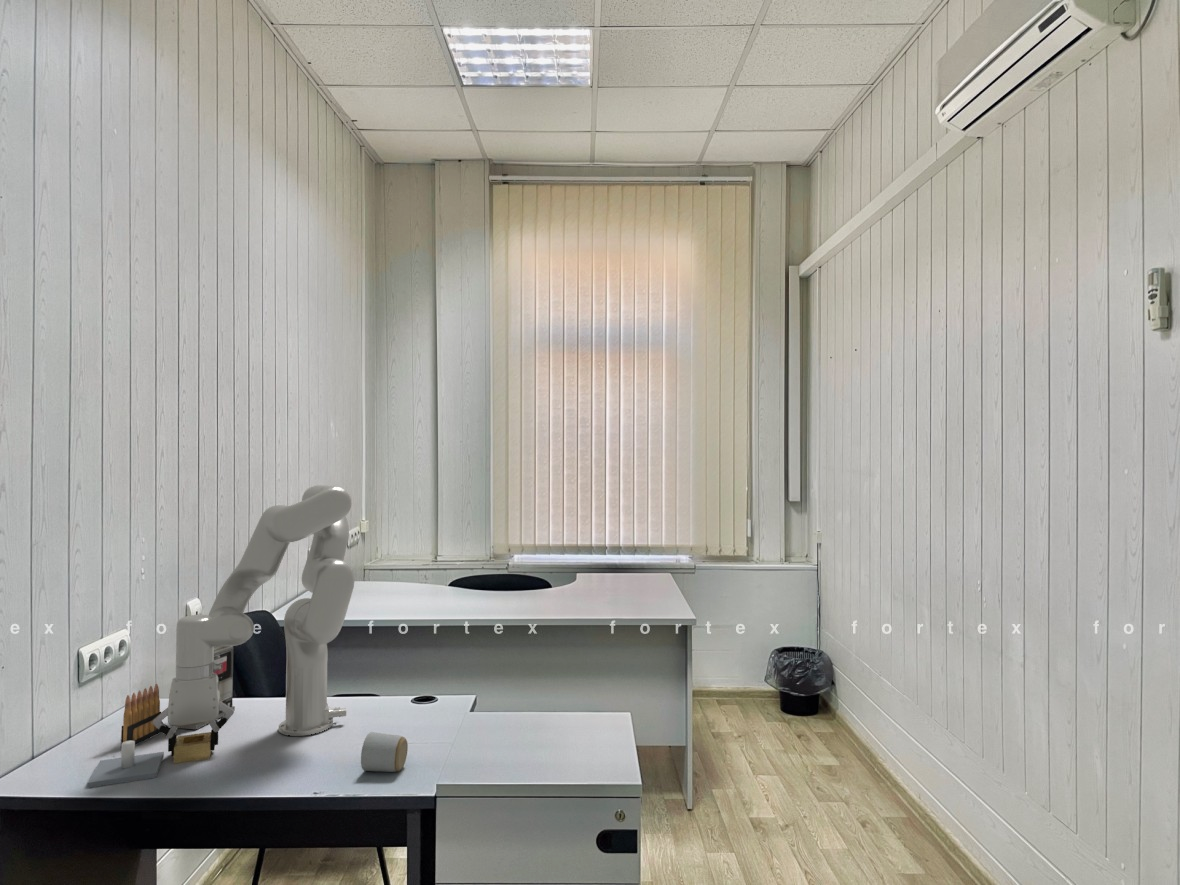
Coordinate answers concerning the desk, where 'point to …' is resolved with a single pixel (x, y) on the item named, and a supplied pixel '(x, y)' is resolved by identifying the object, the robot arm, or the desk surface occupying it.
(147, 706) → the ammunition clip
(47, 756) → the desk surface
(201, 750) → the collar
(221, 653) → the cassette tape recorder
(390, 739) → the grey tan-ended cylinder
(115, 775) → the post plate
